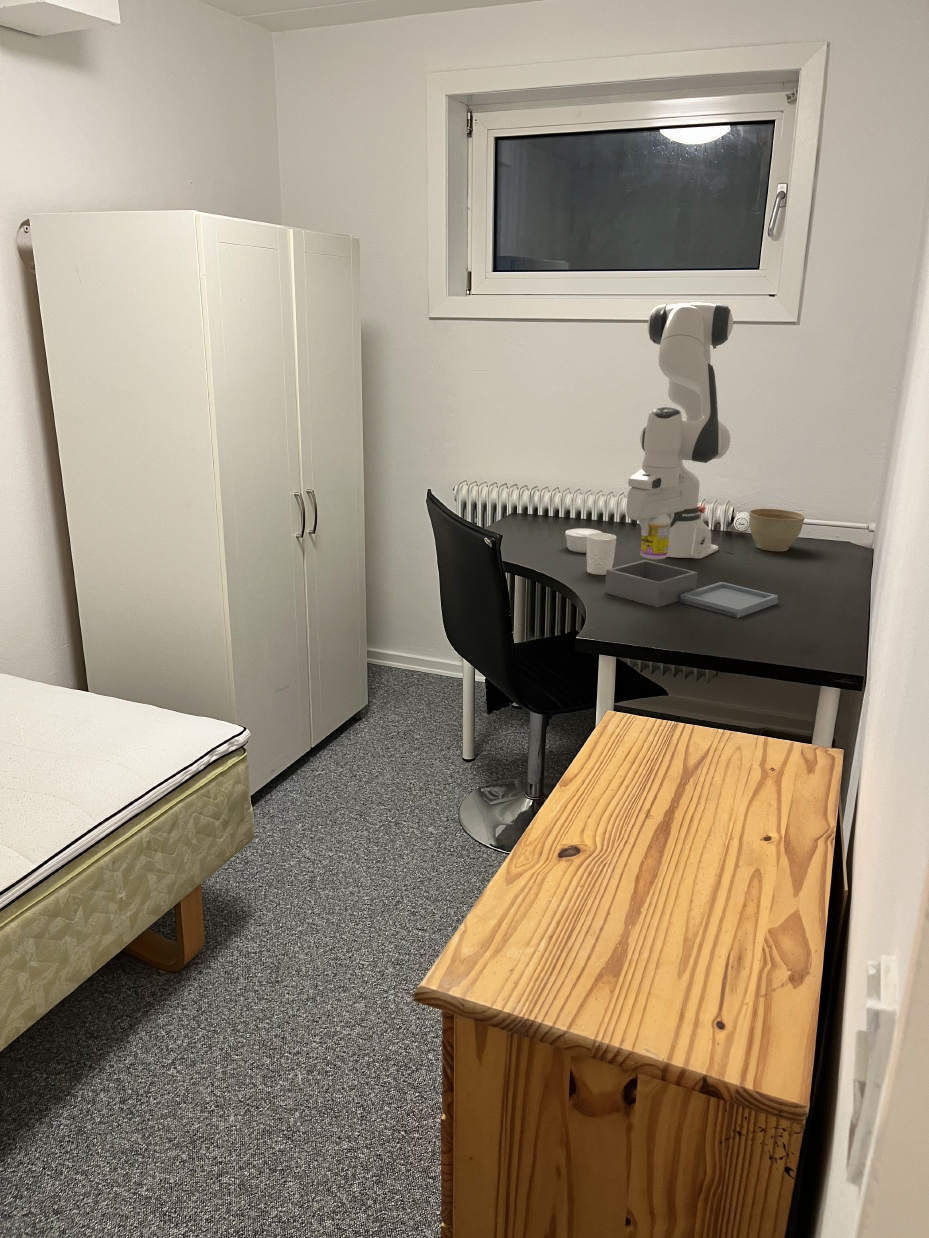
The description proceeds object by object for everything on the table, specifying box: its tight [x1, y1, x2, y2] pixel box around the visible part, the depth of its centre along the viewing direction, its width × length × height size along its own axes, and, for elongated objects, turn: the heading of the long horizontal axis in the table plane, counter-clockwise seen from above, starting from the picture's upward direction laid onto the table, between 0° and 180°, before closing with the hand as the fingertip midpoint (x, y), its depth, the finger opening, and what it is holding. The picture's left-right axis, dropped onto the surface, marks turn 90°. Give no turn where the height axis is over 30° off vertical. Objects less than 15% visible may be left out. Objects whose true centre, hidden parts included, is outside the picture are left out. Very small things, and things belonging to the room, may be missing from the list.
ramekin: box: [564, 527, 603, 554], centre depth 273 cm, size 11×11×5 cm
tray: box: [679, 581, 779, 619], centre depth 223 cm, size 18×16×2 cm
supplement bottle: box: [639, 506, 670, 560], centre depth 224 cm, size 7×7×13 cm
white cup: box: [586, 532, 617, 576], centre depth 247 cm, size 8×8×10 cm
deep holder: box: [604, 559, 698, 608], centre depth 228 cm, size 16×16×6 cm
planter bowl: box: [748, 508, 806, 552], centre depth 278 cm, size 16×16×11 cm
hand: (655, 533), depth 224 cm, fingers open, 7 cm apart
